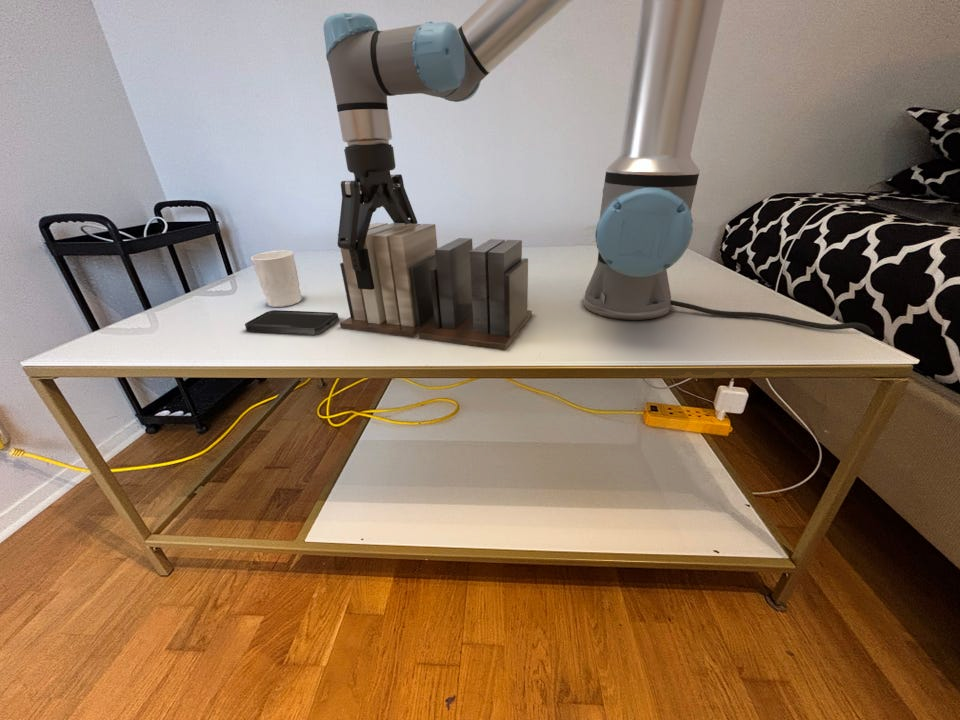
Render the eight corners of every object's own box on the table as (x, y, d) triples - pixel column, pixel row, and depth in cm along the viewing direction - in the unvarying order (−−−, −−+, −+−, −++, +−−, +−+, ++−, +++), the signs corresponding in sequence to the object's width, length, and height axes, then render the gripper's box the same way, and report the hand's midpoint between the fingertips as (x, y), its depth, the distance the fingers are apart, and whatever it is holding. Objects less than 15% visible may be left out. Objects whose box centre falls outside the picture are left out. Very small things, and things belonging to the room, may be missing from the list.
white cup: (286, 309, 83) (273, 260, 79) (256, 306, 86) (241, 258, 81) (312, 297, 90) (301, 251, 85) (283, 294, 92) (271, 249, 88)
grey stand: (531, 315, 75) (533, 236, 68) (505, 350, 63) (504, 258, 56) (457, 307, 80) (451, 234, 74) (419, 338, 68) (408, 253, 61)
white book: (414, 301, 81) (404, 222, 74) (379, 324, 71) (365, 235, 65) (403, 300, 82) (393, 222, 75) (368, 322, 72) (352, 235, 65)
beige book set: (452, 307, 80) (445, 222, 73) (413, 337, 68) (401, 239, 61) (387, 300, 86) (375, 220, 78) (340, 328, 73) (320, 236, 66)
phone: (270, 309, 80) (340, 312, 77) (271, 315, 80) (341, 318, 77) (241, 325, 73) (316, 329, 70) (243, 331, 73) (318, 335, 70)
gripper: (391, 144, 75) (406, 259, 85) (289, 146, 55) (325, 297, 65) (427, 141, 73) (439, 261, 83) (334, 143, 52) (364, 301, 62)
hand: (389, 277), depth 74 cm, fingers open, 13 cm apart
